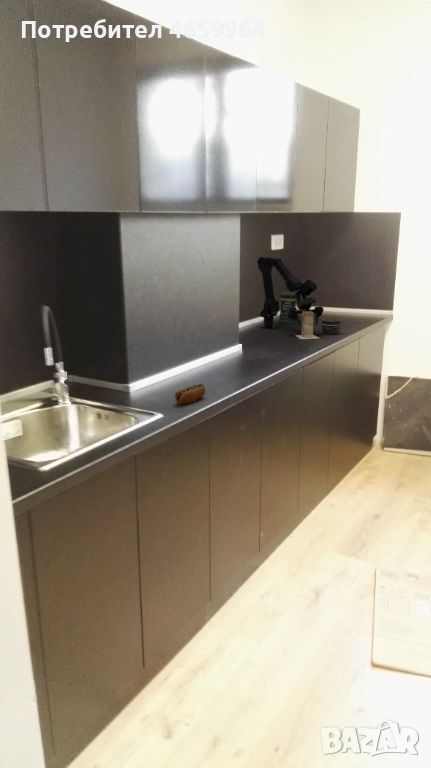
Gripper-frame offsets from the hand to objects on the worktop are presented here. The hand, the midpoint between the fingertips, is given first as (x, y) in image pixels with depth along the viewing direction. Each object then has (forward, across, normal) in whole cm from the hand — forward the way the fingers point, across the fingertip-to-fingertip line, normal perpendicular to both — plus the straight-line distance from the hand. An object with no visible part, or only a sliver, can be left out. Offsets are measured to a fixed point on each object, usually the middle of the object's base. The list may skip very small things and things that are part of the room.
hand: (308, 325), depth 299 cm
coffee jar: (-26, +3, +35) cm, 44 cm away
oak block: (+4, 0, +5) cm, 6 cm away
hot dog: (+71, -76, -61) cm, 121 cm away
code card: (+4, 0, +6) cm, 7 cm away
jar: (-1, +16, +10) cm, 19 cm away
